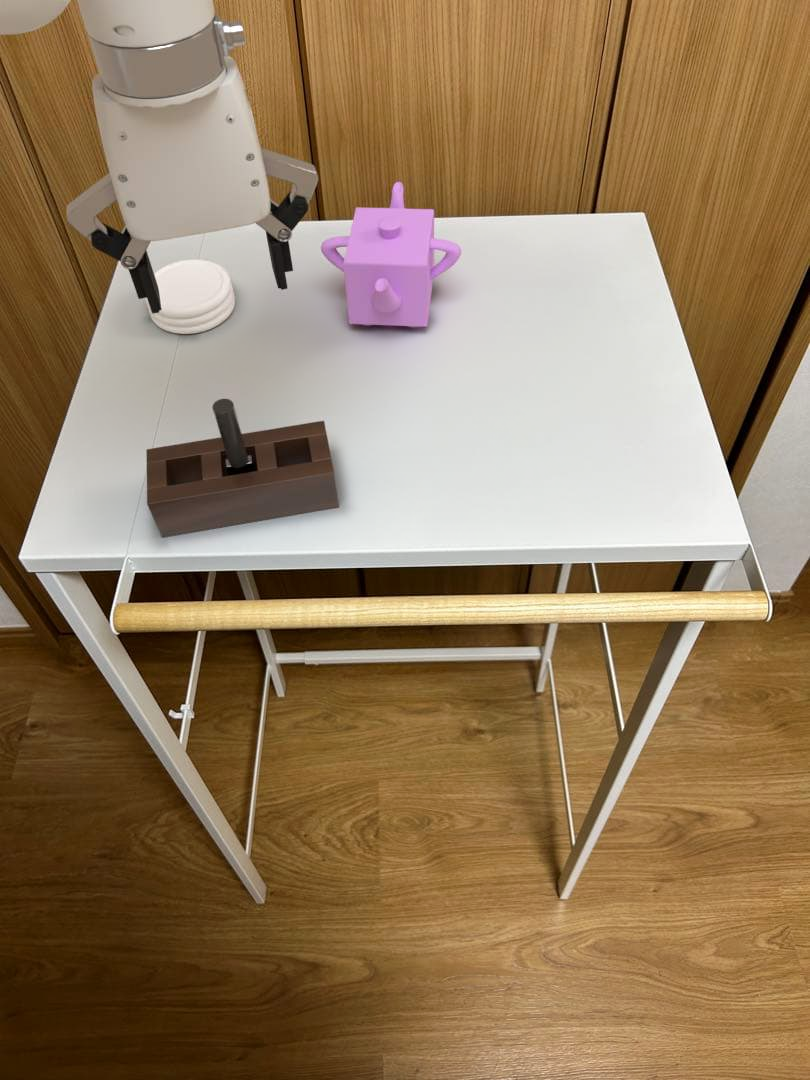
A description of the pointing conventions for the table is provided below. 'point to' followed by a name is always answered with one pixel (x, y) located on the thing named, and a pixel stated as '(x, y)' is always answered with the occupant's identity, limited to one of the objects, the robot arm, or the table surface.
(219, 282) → the white round stack
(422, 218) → the teapot
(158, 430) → the table surface
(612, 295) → the table surface
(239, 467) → the grey handled tool
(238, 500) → the utensil block
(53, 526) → the table surface
